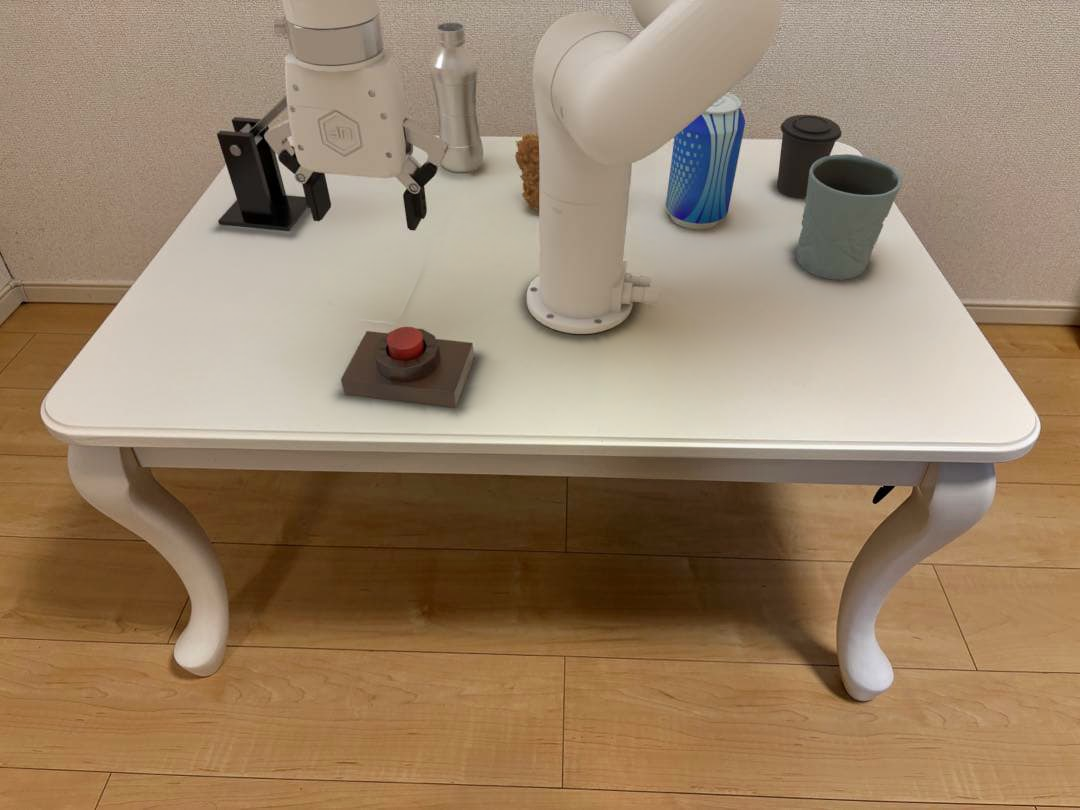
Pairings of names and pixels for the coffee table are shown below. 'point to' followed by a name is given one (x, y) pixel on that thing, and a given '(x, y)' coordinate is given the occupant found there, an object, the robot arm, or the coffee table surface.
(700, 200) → the beer can
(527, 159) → the fried chicken
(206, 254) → the coffee table surface
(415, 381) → the button block
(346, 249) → the coffee table surface
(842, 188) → the green embossed tumbler
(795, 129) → the coffee cup
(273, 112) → the lever
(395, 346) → the button
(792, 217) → the coffee table surface
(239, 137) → the bracket
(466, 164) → the silver metal bottle
